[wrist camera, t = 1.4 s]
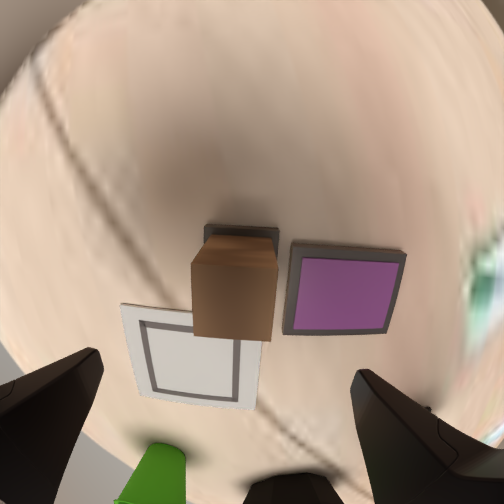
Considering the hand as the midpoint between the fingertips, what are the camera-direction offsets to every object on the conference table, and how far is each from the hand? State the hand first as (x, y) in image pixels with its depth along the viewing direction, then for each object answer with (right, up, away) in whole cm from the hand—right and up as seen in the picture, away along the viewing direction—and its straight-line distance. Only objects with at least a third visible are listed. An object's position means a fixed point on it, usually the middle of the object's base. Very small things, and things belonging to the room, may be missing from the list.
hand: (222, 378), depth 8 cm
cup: (-10, -23, +20) cm, 32 cm away
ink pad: (+8, +1, +12) cm, 15 cm away
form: (-4, -6, +14) cm, 16 cm away
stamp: (0, +3, +12) cm, 12 cm away
